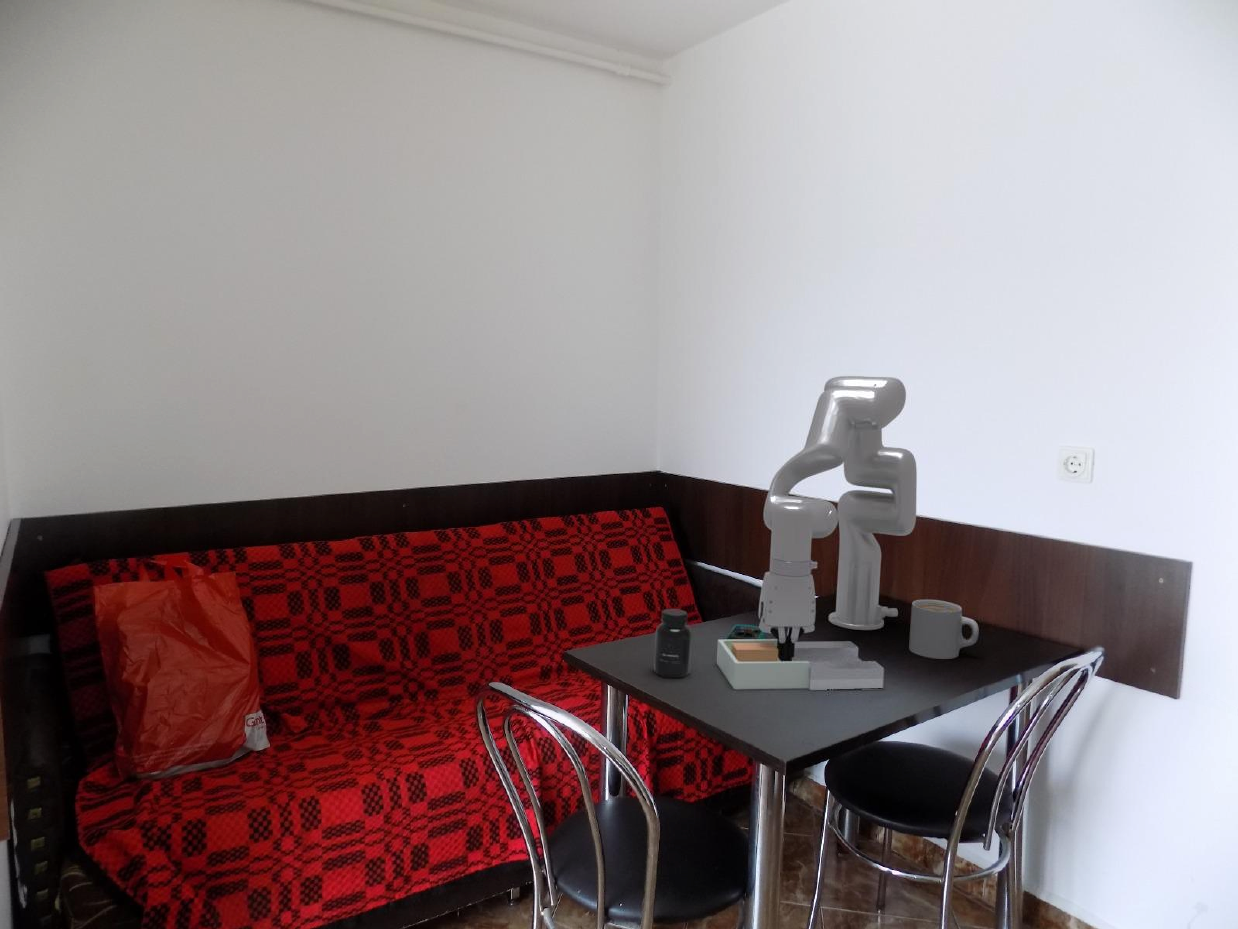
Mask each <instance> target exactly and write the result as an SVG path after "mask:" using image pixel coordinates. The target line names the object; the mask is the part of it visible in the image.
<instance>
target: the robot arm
mask: <svg viewBox="0 0 1238 929" xmlns="http://www.w3.org/2000/svg"><path fill="white" fill-rule="evenodd" d="M906 398H907V390H906V387H905V385H904V383H903V382H902V381H901V380H900V379H899V378H896V377H889V376H886V377H885V376H863V375H862V376H860V375H855V376H854V375H846V376H845V375H842V376H834V377H832V378H829V379H828V380H827V381H826V382H825V384H824V388H823V391H822V393H821V394H820V395H819V397H818V400H817V403H816V406H815V409H814V412H813V417H812V419H811V420H812V421H811V423H810V427H809V430H808V434H807V437H806V440H805V444H804V447H803V449H802V450H801V451H799V452H797V453H796V454H795V455H793V456H792V457H790V459H788V460H787V461H786V462H785V463H784V464H783V465H782V466H781V467H780V468H779V469H778V470H777V472H776V473H775V474H774V477H773V478H772V480H771V482H770V485H769V488H768V491H767V492H768V493H767V496H766V498H765V502H764V507H763V521H764V522H763V523H764V525H765V526H766V528H768V529H769V530H771V536H770V539H771V540H770V553H769V554H770V556H769V571H766V572H765V573H764V576H763V579H762V585H761V589H760V597H759V605H758V618H759V620H760V621H759V625H758V627H759V629H760V630H761V631H762V632H766V634H770V635H771V634H772V636H774V637H775V638H774V639H777V649H778V658H779V659H780V661H792V658H793V657H794V648H795V643H796V642H798V640H799V639H800V638H801V637H802V636H803V635H804V634H807V633H812V632H814V631H815V628H816V627H815V622H816V613H817V610H816V606H817V604H816V591H815V590H816V589H815V582H814V577H813V574H812V570H814V569H818V562H817V561H813V560H812V559H811V556H812V555H811V554H812V539H823V538H826V537H828V536H830V535H831V534H832V533H833V532H834V531H835V529H836V528H837V525H838V528H839V531H838V532H839V550H838V566H837V568H838V569H837V586H836V600H835V601H836V602H835V603H836V604H835V611H834V612H831V613H829V615H828V621H829V622H830V623H831V624H833V625H835V626H837V627H840V628H844V629H849V630H856V631H857V630H859V631H874V630H879V629H881V628H883V627H884V625H885V623H884V622H885V621H884V618H885V617H891V618H892V617H898V615H899V612H898V609H897V607H895V608H894V607H892V608H889V607H888V606H882V605H880V604H879V599H880V598H879V597H880V595H879V594H880V580H881V579H880V578H881V563H882V550H881V547H880V543H878V541H877V539H876V537H875V535H874V534H881V535H882V534H883V535H890V536H900V537H902V536H904V537H905V536H908V535H910V534H911V533H912V532H913V530H914V529H915V526H916V522H917V521H916V520H917V483H918V482H917V479H918V478H917V477H918V476H917V462H916V458H915V456H914V454H913V453H912V452H911V451H910V450H908V449H906V448H901V447H893V446H892V447H890V446H889V447H888V446H884V445H883V433H882V432H883V429H884V428H885V427H887V426H888V425H889V424H890V423H892V421H894V420H895V419H896V418H897V417H899V416H900V414H901V413H902V411H903V409H904V407H905V404H906ZM841 465H843V473H844V475H843V476H844V478H845V480H846V482H847V483H848V484H850V485H852V486H855V487H863V488H872V489H880V490H881V489H884V490H890V491H891V492H883V491H882V492H881V491H872V490H865V489H864V490H862V489H861V490H860V489H853V490H848V491H846V492H844V493H842V495H841V496H840V497H839V499H838V502H837V507H835V505H834V504H833V503H832V502H830V501H828V500H825V499H820V498H810V497H803V496H794V495H789V494H790V493H791V491H792V489H794V487H795V486H796V485H797V484H799V483H800V482H802V481H803V480H806V479H808V478H811V477H813V476H816V475H818V474H821V473H824V472H827V471H831V470H833V469H836V468H838V467H840V466H841ZM785 628H787V633H786V632H785Z"/></svg>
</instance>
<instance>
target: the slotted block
mask: <svg viewBox="0 0 1238 929" xmlns="http://www.w3.org/2000/svg"><path fill="white" fill-rule="evenodd" d="M792 661H808V662H809V682H808V688H807V689H808V690H809V691H828V690H827V689H830V690H829V691H834V690H833V689H854V688H883V689H884V676H885V673H884V672H885V668H884V667H883V666H882V665H880V664H879V663H878V662H877V661H876V660H862V659H860V658H859V647H858V646H857V645H856V644H855V643H853V642H852V641H848V640H846V641H843V640H842V641H839V640H837V641H832V640H831V641H797V642H796V643H795V648H794V657H793V658H792ZM831 689H832V690H831Z"/></svg>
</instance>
